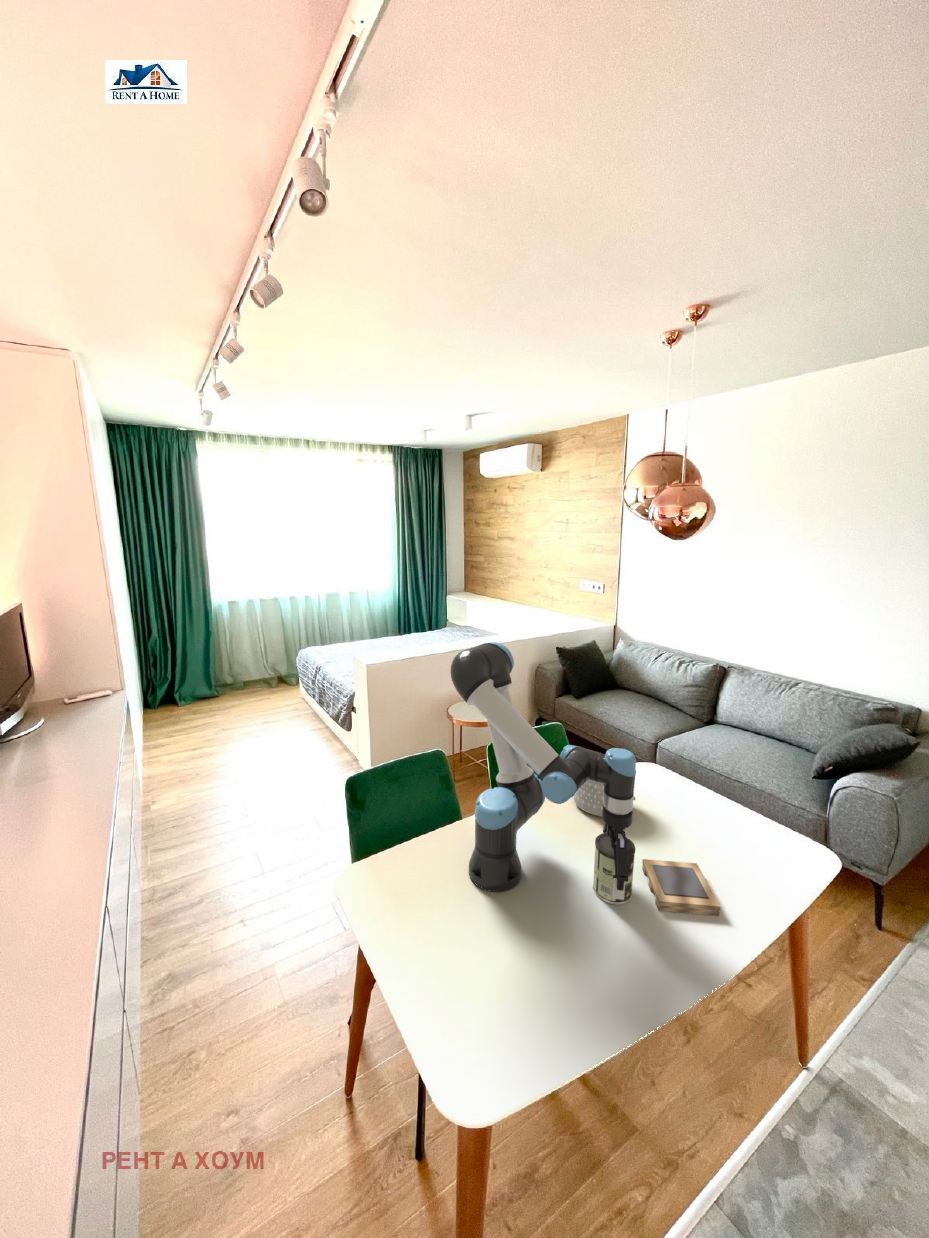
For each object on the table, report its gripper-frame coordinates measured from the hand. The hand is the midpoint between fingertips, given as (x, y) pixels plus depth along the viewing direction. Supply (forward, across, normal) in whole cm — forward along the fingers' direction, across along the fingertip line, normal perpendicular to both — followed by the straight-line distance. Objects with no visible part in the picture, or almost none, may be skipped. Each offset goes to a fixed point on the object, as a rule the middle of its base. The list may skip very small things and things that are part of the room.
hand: (612, 879), depth 126 cm
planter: (+4, +42, -4) cm, 42 cm away
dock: (+3, +2, -18) cm, 18 cm away
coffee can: (+4, 0, 0) cm, 4 cm away
